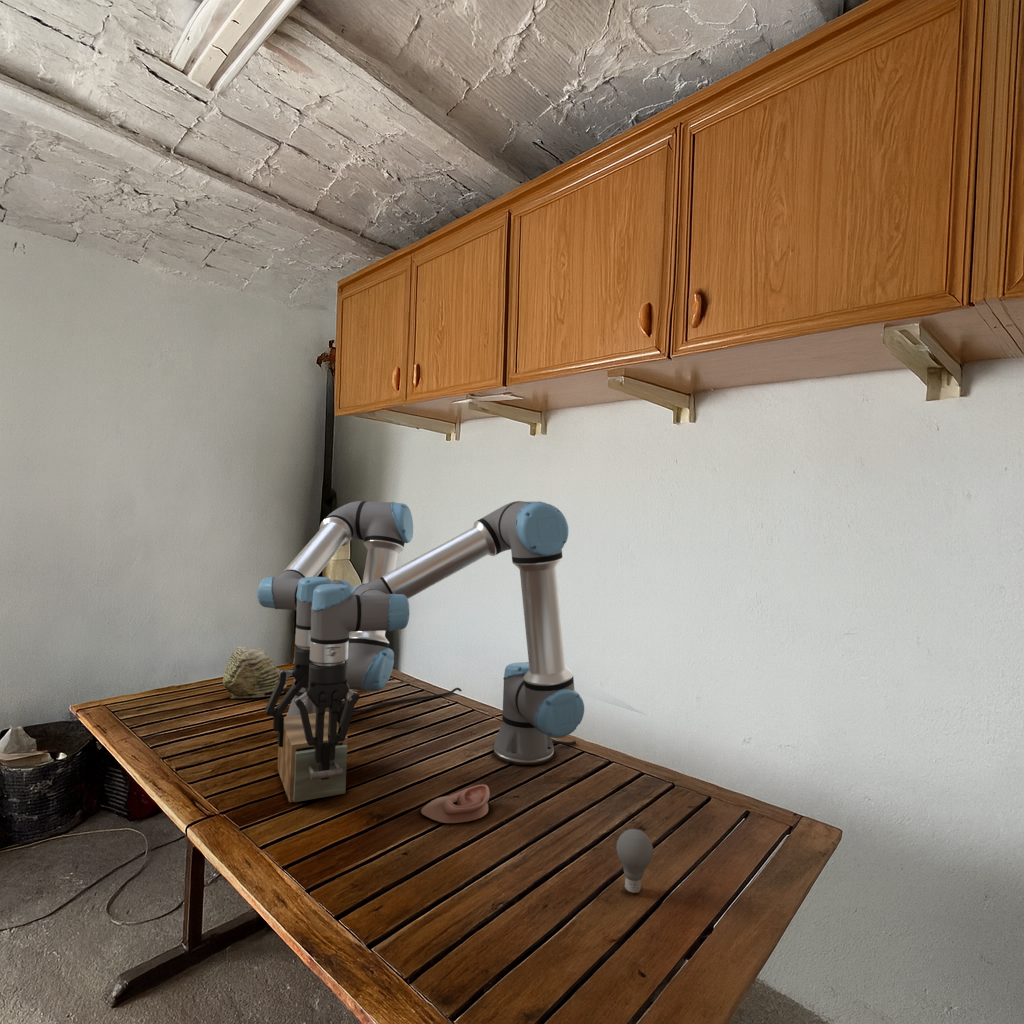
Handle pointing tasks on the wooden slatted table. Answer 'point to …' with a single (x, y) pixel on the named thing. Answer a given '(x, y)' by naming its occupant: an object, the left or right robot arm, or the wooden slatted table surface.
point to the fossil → (250, 674)
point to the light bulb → (634, 857)
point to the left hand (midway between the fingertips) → (308, 741)
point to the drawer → (319, 774)
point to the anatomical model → (459, 806)
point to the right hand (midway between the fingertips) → (323, 776)
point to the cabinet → (296, 747)
